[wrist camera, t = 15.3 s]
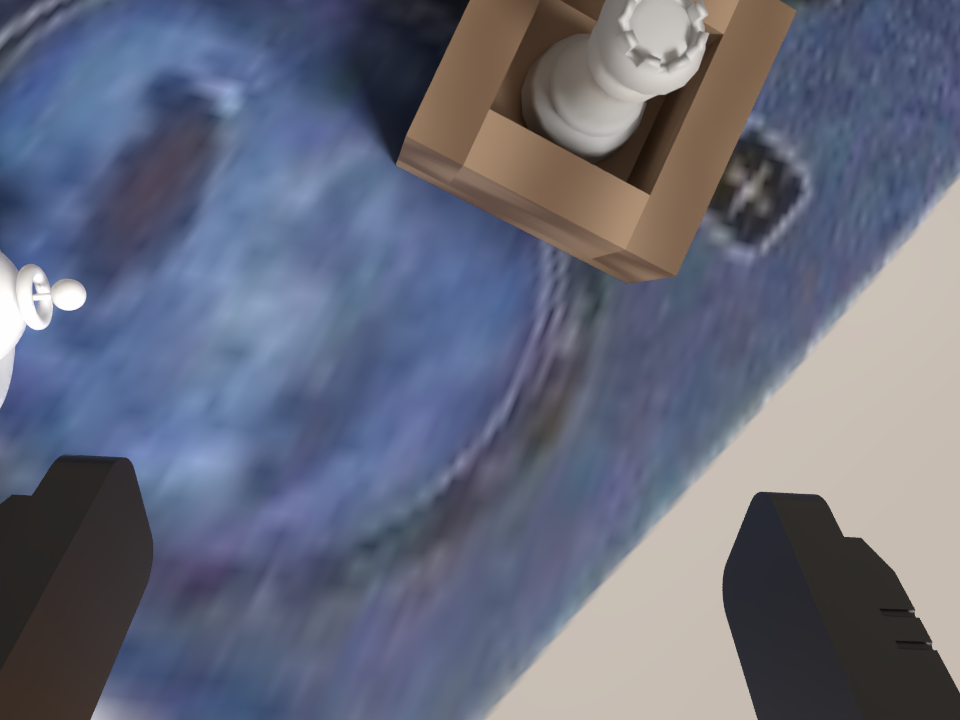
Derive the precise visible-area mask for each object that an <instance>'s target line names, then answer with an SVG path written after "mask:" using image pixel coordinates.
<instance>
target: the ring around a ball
mask: <svg viewBox="0 0 960 720" xmlns="http://www.w3.org/2000/svg"><path fill="white" fill-rule="evenodd" d="M32 282H33V283H34V285H35V288H36V292H37V294H32ZM34 300H38V313H37V311H36V309H35V306H34V302H33V301H34ZM85 300H86V291H85V288H84V287H83V285H82V284H81V283H79V282H78V281H76V280H73V279H62V280H59V281H58V282H56V283H55V284H54V285H53V286H52V289H51V288H50V285H49V282H48V279H47V277H46V275H45V273H44V272H43V270H42V269H41V268H40V267H38V266H37V265H34V264H27V265H25V266H23V267H22V268H21V270H20V271H18V270H17V268H16V267H15V266H14V264H13V263H12V262H11V261H10V260H9V259H8V258H7V257H6V256H5V255H4V254H3V253H2V252H1V251H0V408H1V406H2V404H3V402H4V400H5V397H6V394H7V391H8V388H9V385H10V381H11V376H12V372H13V364H14V356H15V345H16V344H17V343H18V341H19V340H20V338H21V336H22V334H23V332H24V330H25V327H26V324H27V325H28V326H29V327H31V328H32V329H35V330H42V329H44V328H46V327H47V326H48V325H49V323H50V321H51V318H52V312H53V303H54V304H55V305H56V306H57V307H58V308H60V309H63V310H70V311H71V310H75V309H78V308H79V307H81V306H82V305H83V304H84V302H85Z"/></svg>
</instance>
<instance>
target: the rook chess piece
mask: <svg viewBox="0 0 960 720" xmlns="http://www.w3.org/2000/svg"><path fill="white" fill-rule="evenodd" d="M708 15H709V14H708V12H707V9H706V7H705V4H704V2H703V0H697V1H696V2H695V3H694V2H693V1H692V0H606V1H605V2H604V4H603V7H602V10H601V13H600V16H599V19H598V21H597V24H596V25H595V26H594V27H593V30H592V33H591V34H574V35H572V36H569V37H567V38H565V39H562V40H560V41H558V42H555V43H553V44H552V45H551V46H550V47H549V48H548V49H547V50H546V51H544V52H543V54H542V55H541V56H540V57H539V58H538V59H537V60H536V61H535V62H534V63H533V64H532V66H531V67H530V68H529V70H528V73H527V76H526V79H525V82H524V84H523V87H522V90H521V96H522V116H523V118H524V120H525V122H526V125H527V127H528V129H529V130H530V131H532V132H533V133H535V134H537V135H539V136H541V137H543V138H545V139H546V140H548V141H550V142H552V143H554V144H556V145H558V146H559V147H561V148H563V149H565V150H567V151H569V152H571V153H572V154H574V155H576V156H578V157H580V158H582V159H584V160H585V161H587V162H589V163H591V164H595V163H597V162H599V161H601V160H603V159H605V158H608V157H610V156H612V155H614V154H615V153H616V152H617V151H618V150H619V149H620V148H621V147H623V146H624V145H625V143H626V142H627V141H628V140H629V139H630V138H631V137H632V136H633V134H634V133H635V132H636V131H637V130H638V127H639V125H640V122H641V119H642V116H643V113H644V110H645V107H646V100H648V99H650V98H652V97H655V96H657V95H665V94H667V93H670V92H672V91H674V90H676V89H678V88H681V87H683V86H684V85H685V84H686V83H687V82H688V81H689V80H690V79H691V78H692V76H693V75H694V74H695V73H696V72H697V71H698V69H699V66H700V63H701V61H702V58H703V55H704V52H705V49H706V48H705V44H706V41H707V39H708V36H709V33H706V32H705V25H704V23H703V19H704V18H705V17H707V16H708Z"/></svg>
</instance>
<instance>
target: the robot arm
mask: <svg viewBox="0 0 960 720" xmlns="http://www.w3.org/2000/svg"><path fill="white" fill-rule="evenodd" d="M152 560H153V539H152V534H151V530H150V527H149V523H148V519H147V515H146V512H145V508H144V504H143V500H142V497H141V493H140V489H139V485H138V482H137V478H136V474H135V470H134V467H133V465H132V463H131V461H130V460H129V459H127V458H123V457H103V456H83V455H62V456H60V457H59V458H57V459H56V460H55V461H54V463H53V464H52V465H51V467H50V468H49V470H48V472H47V473H46V475H45V476H44V478H43V479H42V481H41V482H40V484H39V486H38V487H37V489H36V490H35V492H34V493H33V495H32V496H27V495H11V496H10V497H9V498H8V499H6V500H5V501H4V502H2V503H1V504H0V720H90V719H91V717H92V715H93V712H94V710H95V708H96V705H97V703H98V700H99V698H100V696H101V693H102V691H103V688H104V686H105V684H106V681H107V679H108V677H109V674H110V672H111V669H112V667H113V665H114V662H115V660H116V657H117V655H118V653H119V650H120V648H121V646H122V643H123V641H124V638H125V636H126V634H127V631H128V629H129V627H130V624H131V622H132V619H133V617H134V615H135V612H136V610H137V607H138V605H139V603H140V600H141V598H142V596H143V593H144V591H145V588H146V586H147V583H148V580H149V576H150V572H151V567H152ZM723 602H724V608H725V612H726V616H727V620H728V623H729V626H730V629H731V633H732V636H733V639H734V643H735V646H736V649H737V653H738V656H739V659H740V663H741V666H742V669H743V672H744V676H745V679H746V682H747V686H748V689H749V692H750V696H751V699H752V702H753V706H754V709H755V712H756V715H757V718H758V720H960V693H959V691H958V689H957V687H956V685H955V683H954V681H953V680H952V678H951V676H950V674H949V672H948V670H947V668H946V666H945V665H944V663H943V661H942V659H941V657H940V655H939V654H938V652H937V650H933V649H932V641H931V639H930V637H929V635H928V633H927V631H926V629H925V628H924V626H923V624H922V622H921V620H920V618H916V617H915V613H914V612H915V609H914V607H913V605H912V603H911V601H910V600H909V598H908V596H907V594H906V592H905V590H904V588H903V587H902V585H901V583H900V581H899V579H898V577H897V575H896V574H895V572H894V571H893V570H892V569H891V568H890V567H889V566H888V565H887V564H886V563H885V562H884V561H883V560H882V559H881V558H880V557H879V556H878V555H877V554H876V552H874V551H873V550H872V548H870V547H869V545H867V543H865V542H864V540H863V539H862V538H854V537H852V538H851V537H844V536H843V534H842V532H841V530H840V528H839V526H838V524H837V522H836V520H835V518H834V516H833V514H832V512H831V510H830V508H829V506H828V504H827V503H826V501H825V500H824V499H823V498H822V497H820V496H819V495H814V494H793V493H774V492H759V493H757V494H756V495H755V496H754V497H753V499H752V501H751V503H750V506H749V508H748V510H747V513H746V515H745V518H744V521H743V523H742V525H741V528H740V530H739V533H738V535H737V538H736V540H735V543H734V545H733V548H732V550H731V553H730V555H729V558H728V560H727V563H726V566H725V570H724V575H723Z"/></svg>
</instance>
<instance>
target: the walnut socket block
mask: <svg viewBox="0 0 960 720" xmlns="http://www.w3.org/2000/svg"><path fill="white" fill-rule="evenodd" d="M605 1H606V0H470V1H469V3H468V5H467V7H466V10H465V12H464V14H463V16H462V18H461V20H460V22H459V24H458V27H457V29H456V31H455V33H454V35H453V37H452V39H451V41H450V43H449V46H448V48H447V50H446V52H445V54H444V56H443V58H442V60H441V63H440V65H439V67H438V69H437V71H436V73H435V75H434V77H433V80H432V82H431V84H430V86H429V88H428V90H427V92H426V94H425V96H424V99H423V101H422V103H421V105H420V107H419V109H418V111H417V113H416V116H415V118H414V120H413V122H412V124H411V126H410V128H409V130H408V133H407V135H406V137H405V140H404V143H403V146H402V149H401V152H400V154H399V157H398V160H397V163H396V166H398V167H400V168H402V169H404V170H406V171H408V172H410V173H412V174H414V175H415V176H417V177H419V178H421V179H423V180H425V181H427V182H429V183H431V184H433V185H435V186H437V187H439V188H441V189H443V190H445V191H447V192H449V193H451V194H453V195H455V196H457V197H459V198H461V199H462V200H464V201H466V202H468V203H470V204H472V205H474V206H476V207H478V208H480V209H482V210H484V211H486V212H488V213H490V214H492V215H494V216H496V217H498V218H500V219H502V220H504V221H506V222H508V223H510V224H511V225H513V226H515V227H517V228H519V229H521V230H523V231H525V232H527V233H529V234H531V235H533V236H535V237H537V238H539V239H541V240H543V241H545V242H547V243H549V244H551V245H553V246H555V247H557V248H559V249H560V250H562V251H564V252H566V253H568V254H570V255H572V256H574V257H576V258H578V259H580V260H582V261H584V262H586V263H588V264H590V265H592V266H594V267H596V268H598V269H600V270H602V271H604V272H606V273H607V274H609V275H611V276H613V277H615V278H617V279H619V280H621V281H623V282H625V283H634V282H640V281H647V280H654V279H660V278H667V277H674V276H677V273H678V271H679V269H680V267H681V265H682V262H683V260H684V258H685V256H686V254H687V251H688V249H689V247H690V245H691V243H692V240H693V238H694V236H695V234H696V232H697V229H698V227H699V225H700V223H701V221H702V218H703V216H704V214H705V212H706V210H707V207H708V205H709V203H710V201H711V199H712V196H713V194H714V192H715V190H716V187H717V185H718V183H719V181H720V179H721V176H722V174H723V172H724V170H725V168H726V165H727V163H728V161H729V159H730V157H731V154H732V152H733V150H734V148H735V146H736V143H737V141H738V139H739V137H740V135H741V132H742V130H743V128H744V126H745V124H746V121H747V119H748V117H749V115H750V113H751V110H752V108H753V106H754V104H755V102H756V99H757V97H758V95H759V93H760V91H761V88H762V86H763V84H764V82H765V79H766V77H767V75H768V73H769V71H770V68H771V66H772V64H773V62H774V60H775V57H776V55H777V53H778V51H779V49H780V46H781V44H782V42H783V40H784V38H785V35H786V33H787V31H788V29H789V27H790V24H791V22H792V20H793V18H794V16H795V13H796V10H794V9H793V8H791V7H789V6H788V5H786V4H785V3H783V2H781V1H780V0H703V2H704V4H705V7H706V9H707V12H708V14H709V15H708V16H707V17H705V18H704V19H703V23H704V25H705V32H706V33H709V36H708V39H707V41H706V44H705V48H706V49H705V52H704V55H703V58H702V61H701V63H700V66H699V69H698V71H697V72H696V73H695V74H694V75H693V76H692V78H691V79H690V80H689V81H688V82H687V83H686V84H685V85H684V86H683V87H681V88H678V89H676V90H674V91H672V92H670V93H667V94H665V95H657V96H655V97H652V98H650V99H648V100H646V107H645V110H644V113H643V116H642V119H641V122H640V125H639V127H638V130H637V131H636V132H635V133H634V134H633V136H632V137H631V138H630V139H629V140H628V141H627V142H626V143H625V145H624V146H623V147H621V148H620V149H619V150H618V151H617V152H616V153H615V154H614V155H612V156H610V157H608V158H605V159H603V160H601V161H599V162H597V163H595V164H591V163H589V162H587V161H585V160H584V159H582V158H580V157H578V156H576V155H574V154H572V153H571V152H569V151H567V150H565V149H563V148H561V147H559V146H558V145H556V144H554V143H552V142H550V141H548V140H546V139H545V138H543V137H541V136H539V135H537V134H535V133H533V132H532V131H530V130H529V129H528V127H527V125H526V122H525V120H524V118H523V116H522V96H521V90H522V87H523V84H524V82H525V79H526V76H527V73H528V70H529V68H530V67H531V66H532V64H533V63H534V62H535V61H536V60H537V59H538V58H539V57H540V56H541V55H542V54H543V52H544V51H546V50H547V49H548V48H549V47H550V46H551V45H552V44H553V43H555V42H558V41H560V40H562V39H565V38H567V37H569V36H572V35H574V34H591V33H592V30H593V27H594V26H595V25H596V24H597V21H598V19H599V16H600V13H601V10H602V7H603V4H604V2H605ZM692 1H693V2H694V3H695V2H696V1H697V0H692Z"/></svg>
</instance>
